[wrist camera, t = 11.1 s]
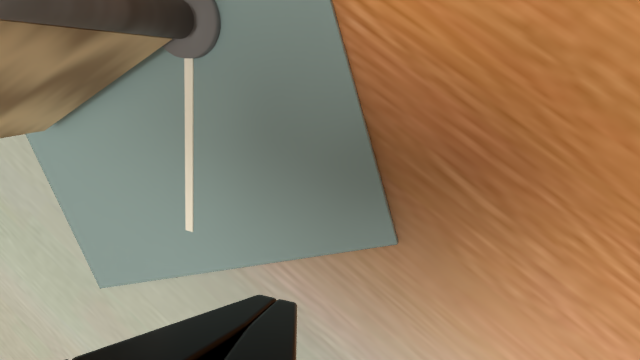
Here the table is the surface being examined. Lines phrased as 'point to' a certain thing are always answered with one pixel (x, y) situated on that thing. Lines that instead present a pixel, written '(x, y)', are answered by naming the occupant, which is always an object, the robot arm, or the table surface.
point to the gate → (74, 52)
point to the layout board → (222, 150)
